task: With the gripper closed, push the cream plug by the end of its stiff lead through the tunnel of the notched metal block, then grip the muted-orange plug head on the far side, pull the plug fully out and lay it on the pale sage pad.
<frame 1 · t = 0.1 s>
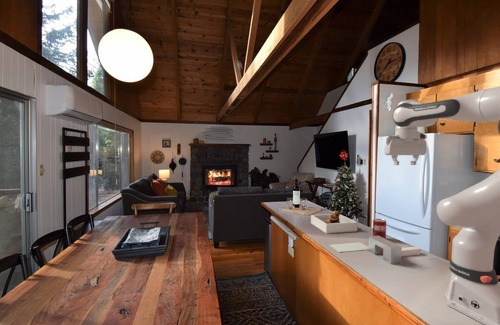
hand: (404, 165, 117), 48 cm above the table, tool pointing down, fingers open, 8 cm apart
bear figurine: (332, 227, 177), resting in bear tray
pad: (350, 247, 140), on the table
bear tray: (332, 226, 177), on the table
plug: (404, 254, 130), on the table
notched metal block: (383, 256, 128), on the table
soda can: (379, 239, 153), on the table
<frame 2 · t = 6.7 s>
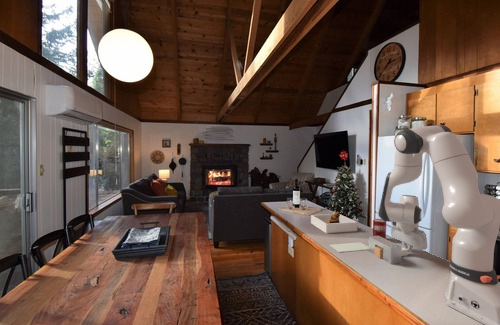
hand: (407, 251, 131), 2 cm above the table, tool pointing down, fingers closed, pressing on plug
bear figurine: (332, 229, 174), resting in bear tray
plug: (391, 255, 129), on the table, touching gripper
everything else where it was.
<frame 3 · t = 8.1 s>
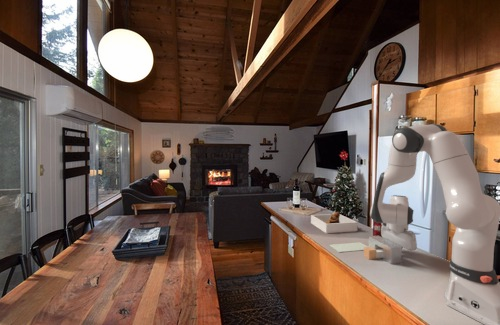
hand: (397, 252, 130), 2 cm above the table, tool pointing down, fingers closed, pressing on plug
plug: (381, 256, 128), on the table, touching gripper
everything else where it was.
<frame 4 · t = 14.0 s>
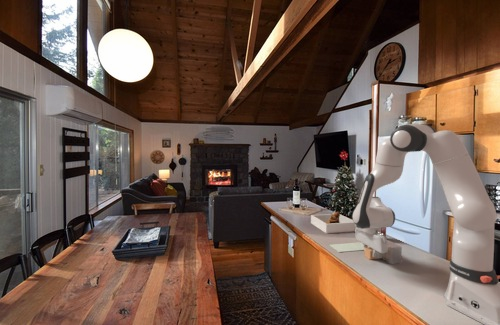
hand: (370, 254, 126), 2 cm above the table, tool pointing down, fingers closed on plug, 4 cm apart
plug: (381, 256, 128), on the table, touching gripper
everything else where it was.
when the fingers open (3 cm above the table, at t = 22.2 s): plug stays where it is, resting on pad.
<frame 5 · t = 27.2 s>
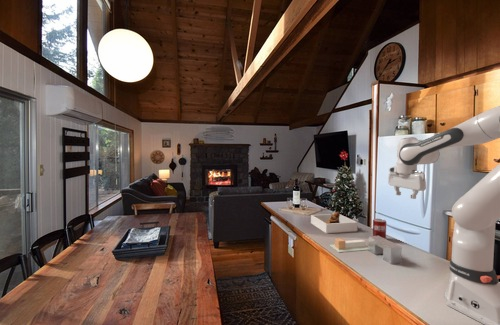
hand: (405, 196, 126), 31 cm above the table, tool pointing down, fingers open, 8 cm apart
plug: (350, 246, 140), resting on pad
everything else where it was.
at the end: plug inside the target area on the pad (0.0 cm from its centre), point 0.4 cm above the pad's base; plug touching pad; the gripper is holding nothing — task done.
